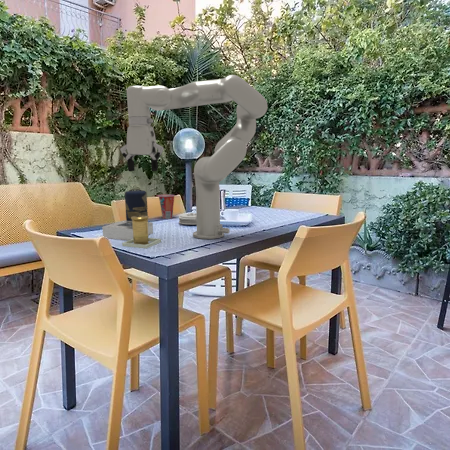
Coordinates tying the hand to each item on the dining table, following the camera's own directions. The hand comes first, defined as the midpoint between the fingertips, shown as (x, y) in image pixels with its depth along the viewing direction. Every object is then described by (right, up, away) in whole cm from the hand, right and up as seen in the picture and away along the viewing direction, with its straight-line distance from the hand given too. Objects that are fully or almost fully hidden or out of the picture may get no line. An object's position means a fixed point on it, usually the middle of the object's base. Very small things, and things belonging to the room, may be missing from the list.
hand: (142, 171), depth 130 cm
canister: (-9, -22, +29) cm, 37 cm away
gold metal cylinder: (-1, -27, -1) cm, 27 cm away
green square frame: (0, -27, -1) cm, 27 cm away
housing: (-9, -25, +13) cm, 29 cm away
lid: (+14, -20, +40) cm, 47 cm away
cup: (0, -16, +55) cm, 57 cm away
